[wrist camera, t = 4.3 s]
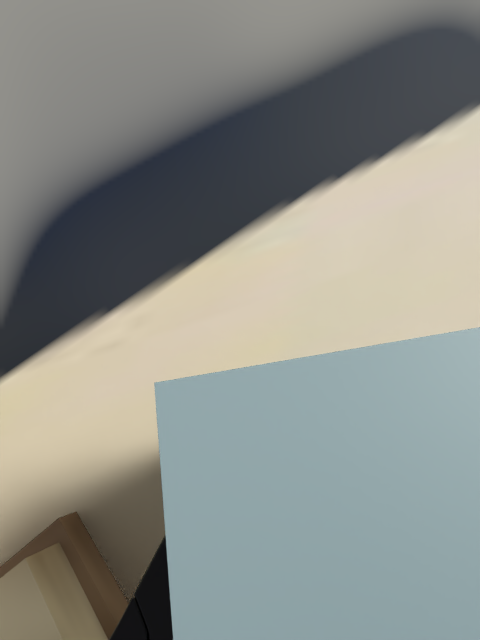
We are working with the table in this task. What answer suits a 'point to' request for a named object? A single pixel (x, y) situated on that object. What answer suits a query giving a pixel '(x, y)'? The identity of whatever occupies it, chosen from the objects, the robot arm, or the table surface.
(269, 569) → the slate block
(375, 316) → the table surface
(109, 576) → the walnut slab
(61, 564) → the birch slab
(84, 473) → the table surface
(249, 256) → the table surface
